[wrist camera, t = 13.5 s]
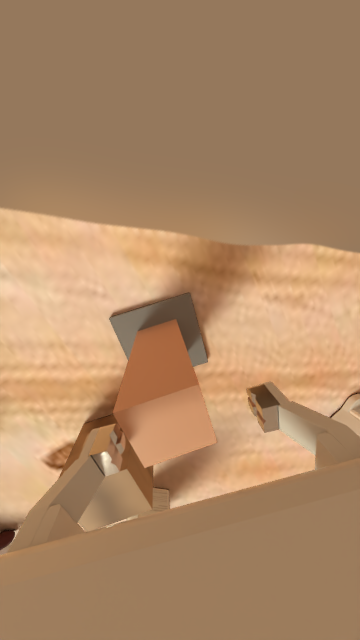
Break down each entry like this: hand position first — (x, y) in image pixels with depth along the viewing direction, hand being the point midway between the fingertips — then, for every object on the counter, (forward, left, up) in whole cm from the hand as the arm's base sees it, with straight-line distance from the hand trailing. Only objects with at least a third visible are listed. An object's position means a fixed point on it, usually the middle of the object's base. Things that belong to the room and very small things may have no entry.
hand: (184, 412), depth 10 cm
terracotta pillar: (+1, +1, -12) cm, 12 cm away
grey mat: (+1, 0, -12) cm, 12 cm away
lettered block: (+12, +13, -12) cm, 22 cm away
